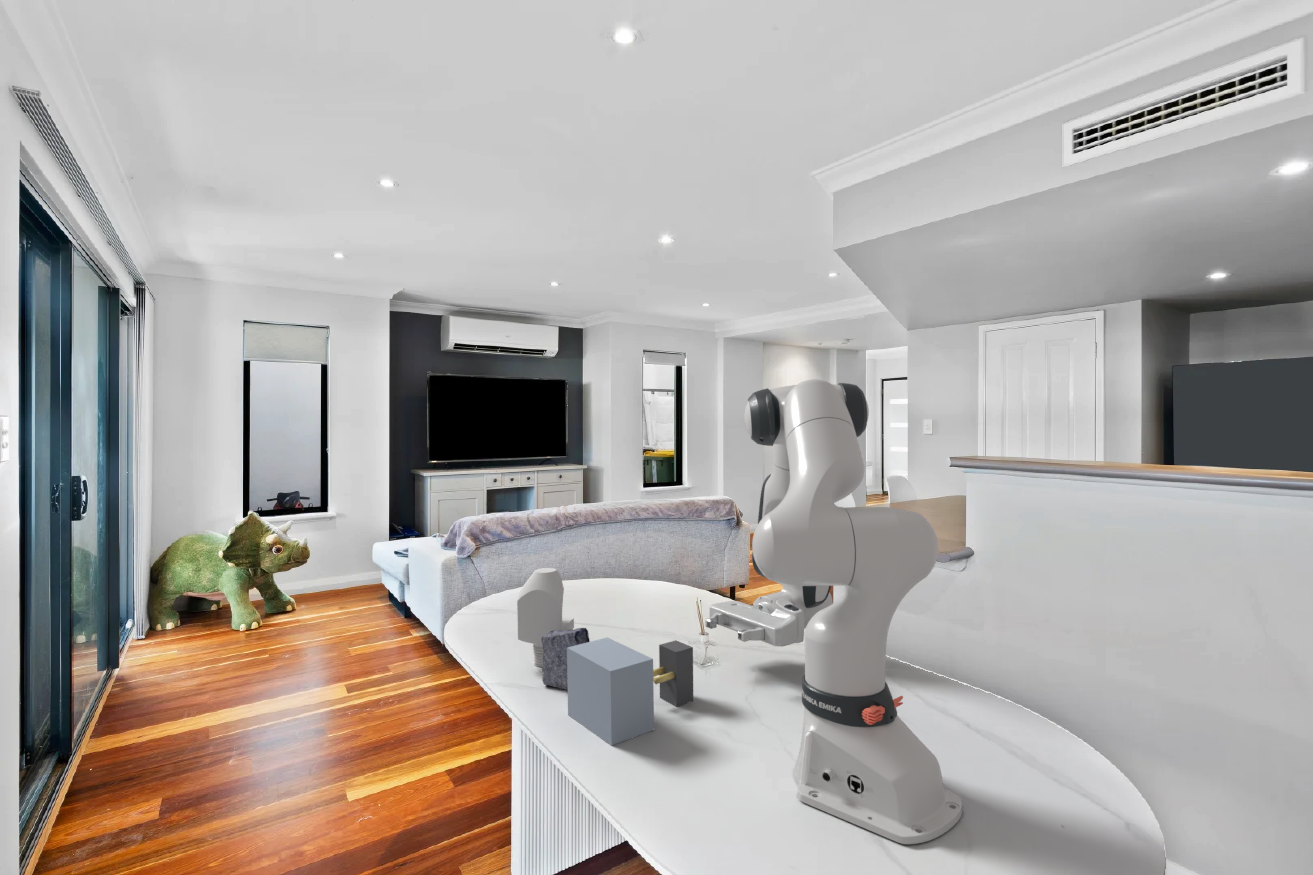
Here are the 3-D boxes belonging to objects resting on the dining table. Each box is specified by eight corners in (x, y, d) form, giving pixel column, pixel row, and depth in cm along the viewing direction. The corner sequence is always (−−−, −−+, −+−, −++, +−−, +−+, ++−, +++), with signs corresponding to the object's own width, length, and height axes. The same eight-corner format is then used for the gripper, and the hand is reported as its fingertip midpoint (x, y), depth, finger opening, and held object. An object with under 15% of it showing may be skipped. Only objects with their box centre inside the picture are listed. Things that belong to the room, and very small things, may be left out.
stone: (602, 686, 131) (584, 690, 122) (556, 691, 133) (536, 696, 124) (596, 625, 135) (578, 624, 126) (552, 631, 137) (531, 631, 128)
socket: (655, 729, 109) (654, 658, 109) (611, 745, 104) (610, 671, 103) (609, 701, 120) (608, 636, 120) (568, 714, 115) (566, 647, 115)
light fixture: (561, 671, 135) (559, 575, 134) (518, 669, 136) (516, 574, 136) (574, 655, 144) (572, 565, 144) (534, 653, 146) (532, 564, 145)
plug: (694, 700, 120) (693, 647, 120) (659, 713, 115) (658, 657, 115) (677, 691, 124) (676, 640, 124) (642, 703, 119) (641, 649, 119)
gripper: (736, 590, 145) (689, 602, 136) (809, 612, 128) (760, 627, 120) (737, 618, 145) (689, 632, 137) (809, 644, 129) (761, 661, 120)
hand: (723, 630), depth 128 cm, fingers open, 8 cm apart
